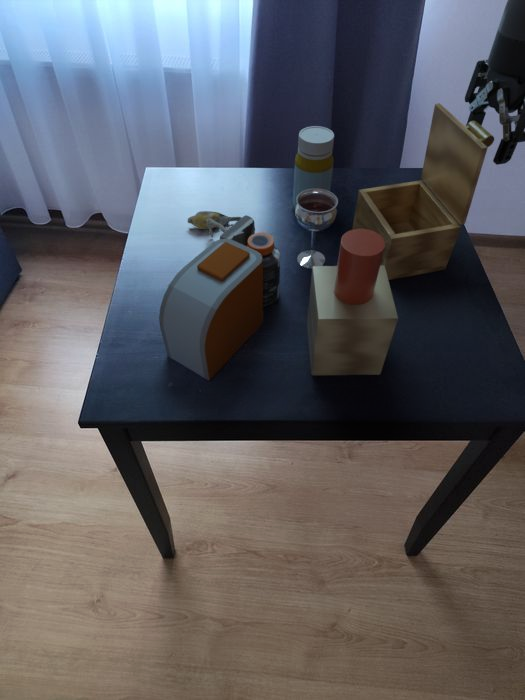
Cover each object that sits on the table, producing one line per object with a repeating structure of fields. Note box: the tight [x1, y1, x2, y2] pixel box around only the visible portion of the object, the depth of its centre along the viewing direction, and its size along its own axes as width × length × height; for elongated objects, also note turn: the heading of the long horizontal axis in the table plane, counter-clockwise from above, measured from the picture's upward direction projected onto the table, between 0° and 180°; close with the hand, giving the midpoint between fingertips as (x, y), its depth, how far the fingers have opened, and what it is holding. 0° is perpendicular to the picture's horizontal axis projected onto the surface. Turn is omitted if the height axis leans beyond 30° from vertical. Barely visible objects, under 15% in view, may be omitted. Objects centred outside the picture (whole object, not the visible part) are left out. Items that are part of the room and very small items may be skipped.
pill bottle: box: [247, 232, 281, 307], centre depth 75 cm, size 6×6×11 cm
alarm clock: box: [158, 238, 264, 381], centre depth 68 cm, size 15×8×14 cm, turn 145°
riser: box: [306, 265, 399, 376], centre depth 67 cm, size 10×10×12 cm
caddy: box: [351, 179, 462, 281], centre depth 83 cm, size 12×14×9 cm
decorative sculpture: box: [187, 210, 256, 246], centre depth 85 cm, size 16×10×7 cm, turn 31°
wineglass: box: [294, 189, 339, 269], centre depth 80 cm, size 7×7×12 cm
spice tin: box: [334, 229, 385, 305], centre depth 59 cm, size 5×5×8 cm
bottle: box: [292, 125, 335, 211], centre depth 89 cm, size 7×7×15 cm
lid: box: [420, 102, 495, 226], centre depth 75 cm, size 13×14×5 cm
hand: (484, 148), depth 74 cm, fingers open, 8 cm apart
